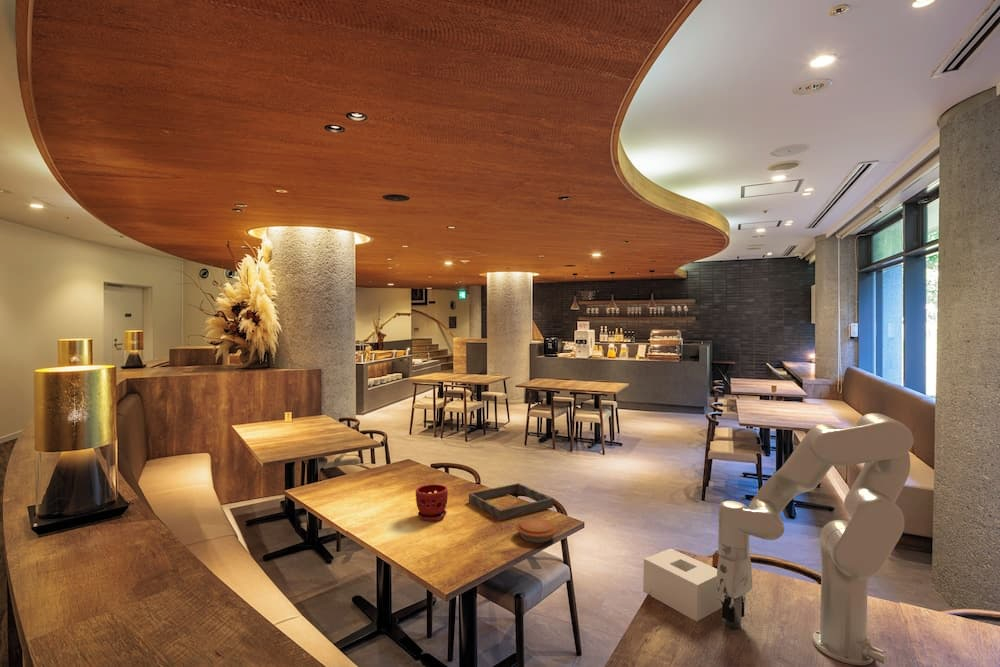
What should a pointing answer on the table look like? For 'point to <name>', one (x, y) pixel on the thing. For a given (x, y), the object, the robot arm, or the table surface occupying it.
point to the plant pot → (431, 502)
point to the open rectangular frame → (540, 504)
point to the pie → (536, 530)
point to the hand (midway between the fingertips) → (733, 616)
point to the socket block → (682, 583)
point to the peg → (736, 613)
